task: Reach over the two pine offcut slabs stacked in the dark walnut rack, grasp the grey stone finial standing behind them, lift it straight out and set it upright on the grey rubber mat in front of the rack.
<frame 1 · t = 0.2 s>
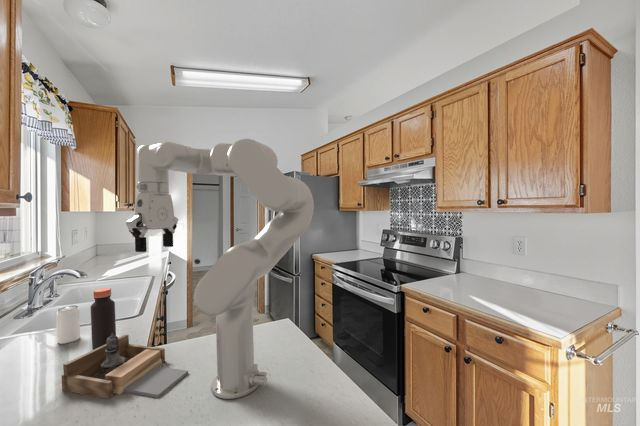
hand: (155, 249, 84), 36 cm above the countertop, tool pointing down, fingers open, 9 cm apart
mat: (157, 382, 80), on the countertop
bottle: (104, 347, 102), on the countertop
rack: (113, 373, 85), on the countertop
upper offcut: (135, 370, 83), point 2 cm above the countertop, touching lower offcut
can: (69, 340, 108), on the countertop
lower offcut: (135, 379, 83), on the countertop, touching upper offcut
grey stone finial: (113, 374, 85), on the countertop
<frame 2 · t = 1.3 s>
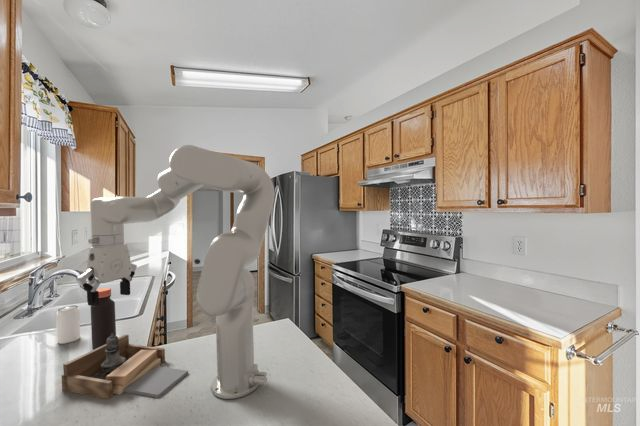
hand: (110, 299, 84), 22 cm above the countertop, tool pointing down, fingers open, 9 cm apart
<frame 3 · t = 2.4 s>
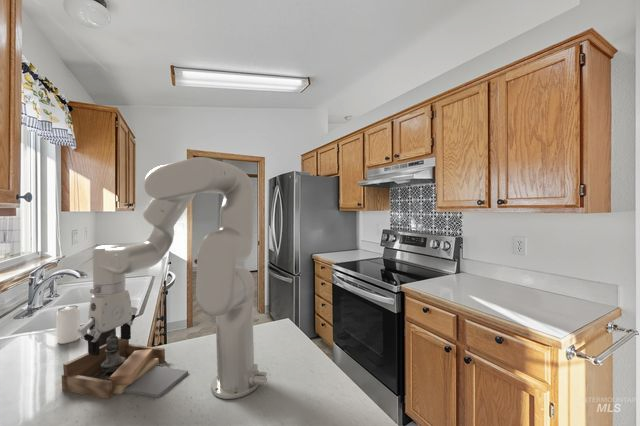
hand: (110, 346, 85), 8 cm above the countertop, tool pointing down, fingers open, 9 cm apart
upper offcut: (133, 370, 83), point 2 cm above the countertop
lower offcut: (133, 379, 83), on the countertop
everything else where it was.
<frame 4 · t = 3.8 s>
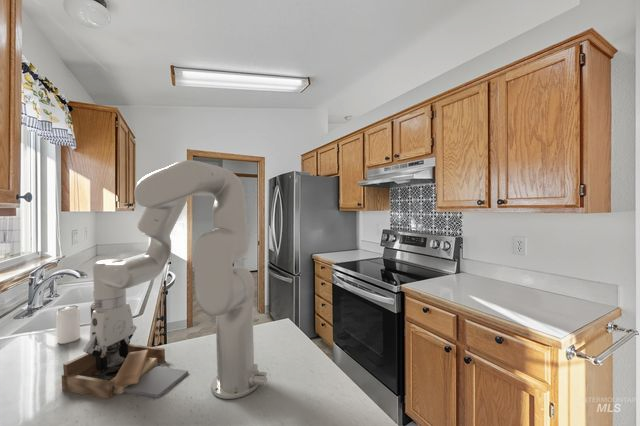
hand: (113, 363, 85), 3 cm above the countertop, tool pointing down, fingers closed on grey stone finial, 5 cm apart
upper offcut: (133, 371, 83), point 2 cm above the countertop, touching lower offcut
lower offcut: (132, 379, 83), on the countertop, touching upper offcut
grey stone finial: (113, 374, 85), on the countertop, touching gripper
everything else where it was.
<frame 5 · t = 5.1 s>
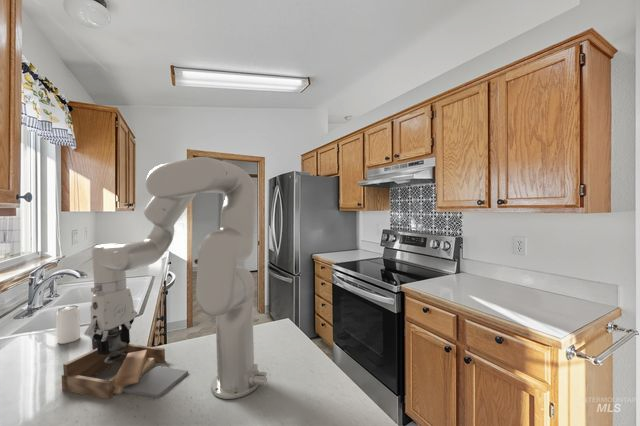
hand: (114, 347, 85), 8 cm above the countertop, tool pointing down, fingers closed on grey stone finial, 5 cm apart
grey stone finial: (115, 359, 85), point 4 cm above the countertop, touching gripper
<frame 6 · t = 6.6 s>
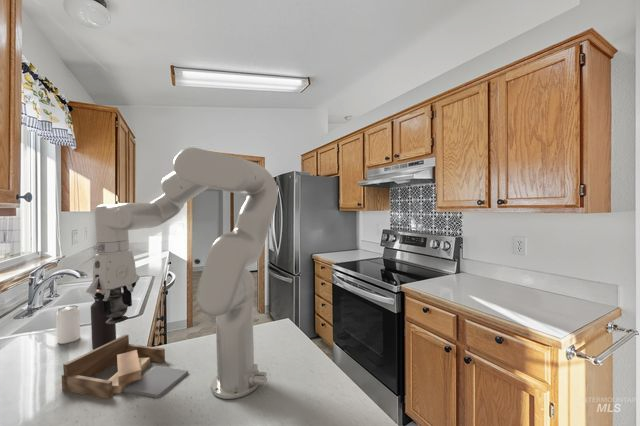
hand: (116, 309, 84), 19 cm above the countertop, tool pointing down, fingers closed on grey stone finial, 5 cm apart
upper offcut: (128, 370, 83), point 2 cm above the countertop, touching lower offcut
grey stone finial: (117, 320, 84), point 16 cm above the countertop, touching gripper
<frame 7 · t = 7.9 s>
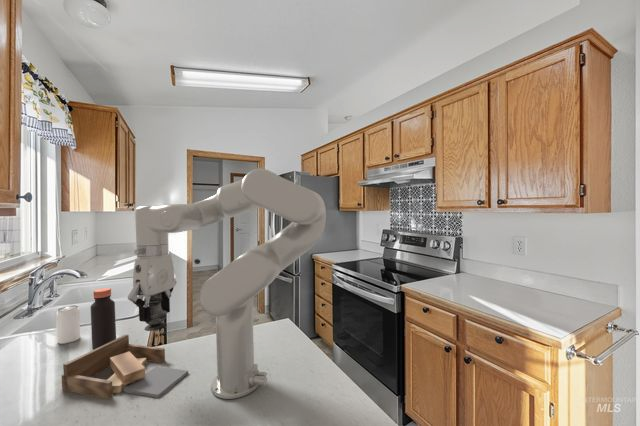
hand: (155, 315, 80), 18 cm above the countertop, tool pointing down, fingers closed on grey stone finial, 5 cm apart
grey stone finial: (155, 327, 80), point 15 cm above the countertop, touching gripper
when the fingers open (5 cm above the countertop, at t = 11.0 s): grey stone finial drops 1 cm, resting on mat.
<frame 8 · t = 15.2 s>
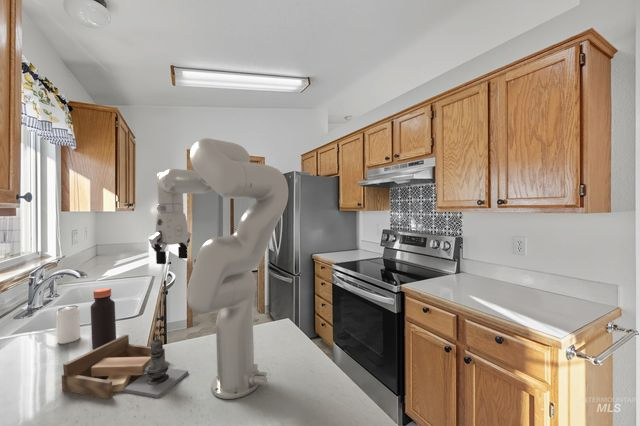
hand: (172, 260, 97), 30 cm above the countertop, tool pointing down, fingers open, 9 cm apart
upper offcut: (123, 370, 83), point 2 cm above the countertop, touching lower offcut
lower offcut: (121, 379, 83), on the countertop, touching upper offcut
grey stone finial: (158, 380, 80), point 1 cm above the countertop, touching mat
everything else where it was.
at the end: grey stone finial inside the target area on the mat (0.2 cm from its centre), point 0.6 cm above the mat's base; grey stone finial tilted 0°; the gripper is holding nothing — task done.
